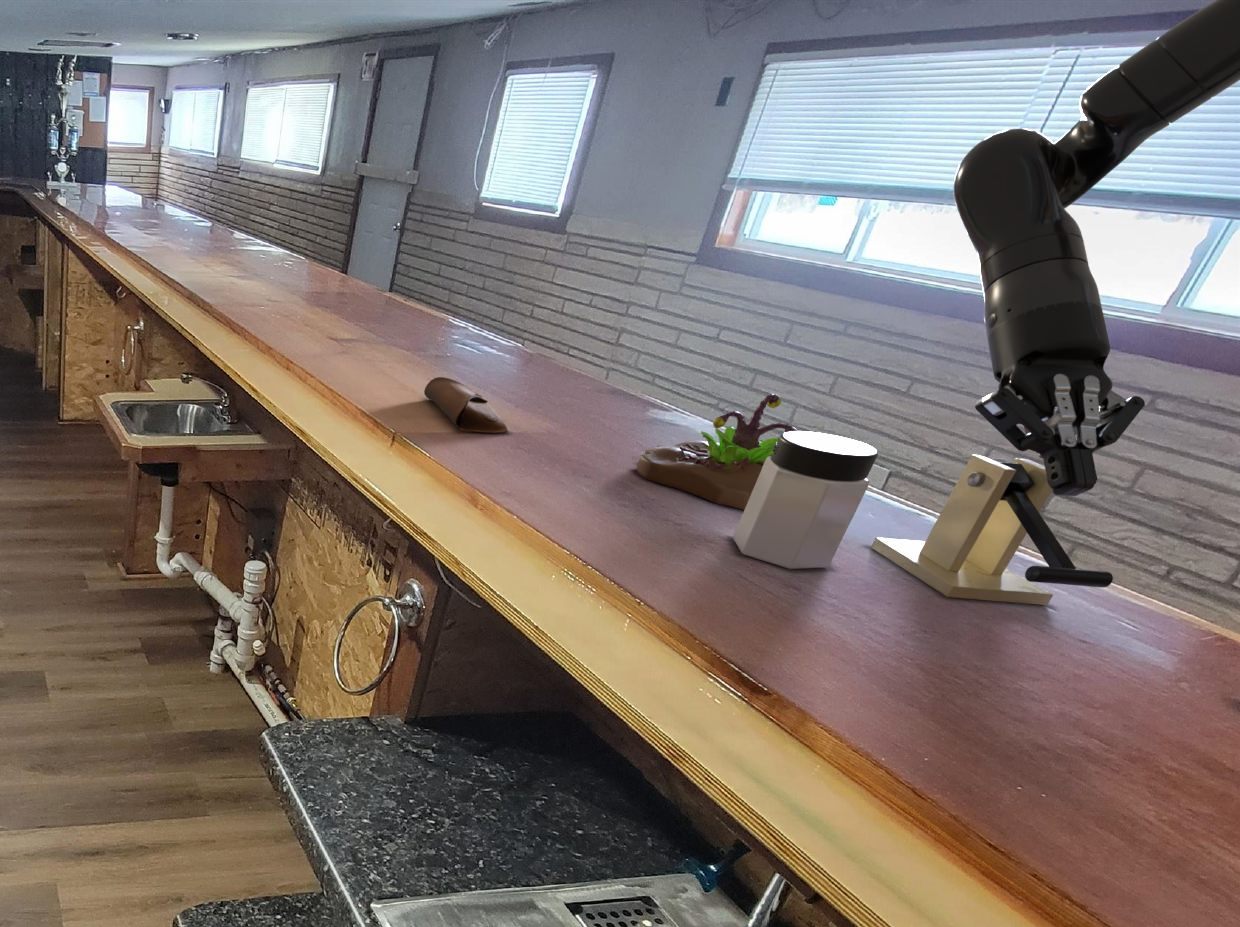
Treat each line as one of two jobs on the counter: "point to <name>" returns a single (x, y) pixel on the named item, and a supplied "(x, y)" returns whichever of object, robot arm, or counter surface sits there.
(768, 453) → the plant
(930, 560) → the bracket
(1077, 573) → the lever
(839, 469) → the jar
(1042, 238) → the robot arm
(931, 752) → the counter surface
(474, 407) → the sunglasses case
